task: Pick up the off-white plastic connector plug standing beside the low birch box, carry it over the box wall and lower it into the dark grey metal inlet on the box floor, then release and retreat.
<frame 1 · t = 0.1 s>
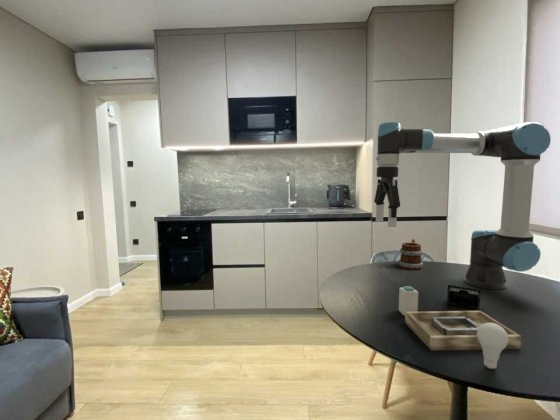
hand: (385, 224, 117), 28 cm above the table, fingers open, 13 cm apart
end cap: (462, 306, 111), on the table
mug: (410, 266, 161), on the table
connector plug: (407, 312, 105), on the table
grey inlet: (455, 332, 91), resting on birch box
birch box: (457, 334, 90), on the table
lightbulb: (489, 369, 75), on the table
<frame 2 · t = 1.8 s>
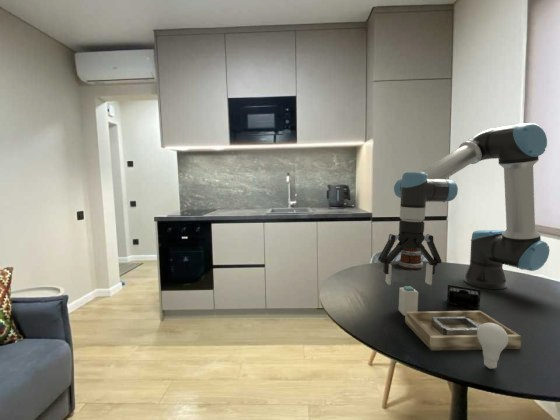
hand: (408, 283, 104), 10 cm above the table, fingers open, 13 cm apart
nothing on the table moved.
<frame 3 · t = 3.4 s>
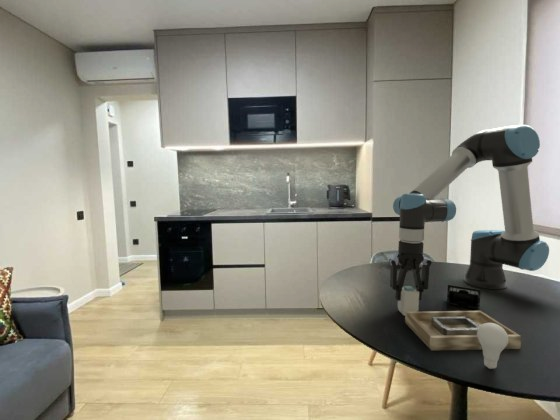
hand: (407, 309, 105), 1 cm above the table, fingers closed on connector plug, 4 cm apart
connector plug: (407, 312, 105), on the table, touching gripper
everything else where it was.
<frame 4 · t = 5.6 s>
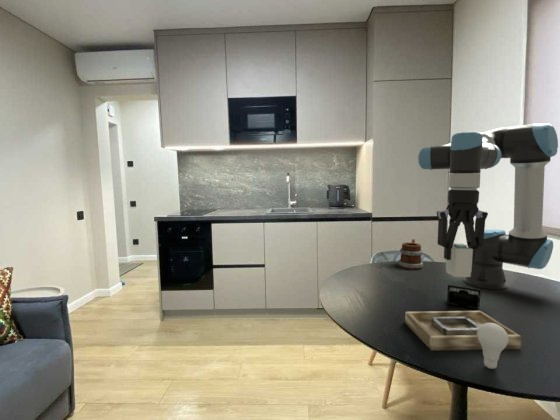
hand: (458, 270, 90), 19 cm above the table, fingers closed on connector plug, 4 cm apart
connector plug: (458, 274, 90), point 17 cm above the table, touching gripper
everything else where it was.
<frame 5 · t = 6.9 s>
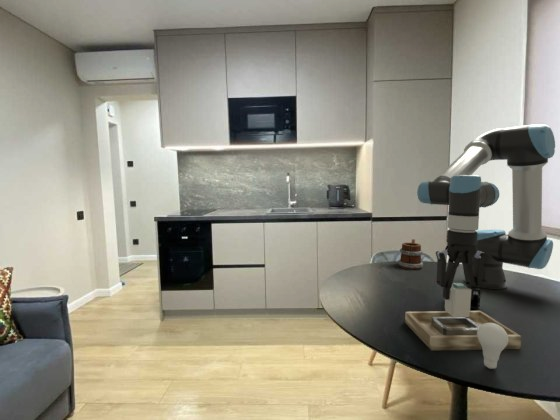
hand: (457, 309, 91), 7 cm above the table, fingers closed on connector plug, 4 cm apart
connector plug: (456, 313, 91), point 6 cm above the table, touching gripper
everything else where it was.
when the fingers open (4 cm above the table, at t = 7.8 s): connector plug drops 1 cm, resting on birch box.
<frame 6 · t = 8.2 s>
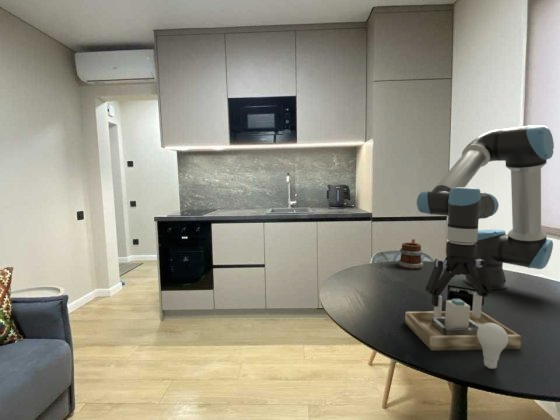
hand: (456, 316, 91), 5 cm above the table, fingers open, 11 cm apart
connector plug: (456, 329, 91), point 1 cm above the table, touching birch box
everything else where it was.
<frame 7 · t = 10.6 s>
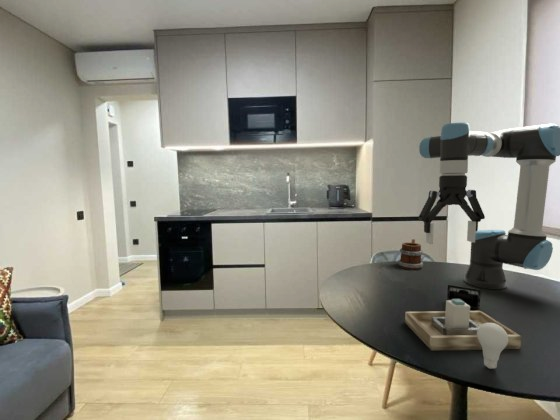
hand: (450, 242, 99), 25 cm above the table, fingers open, 13 cm apart
nothing on the table moved.
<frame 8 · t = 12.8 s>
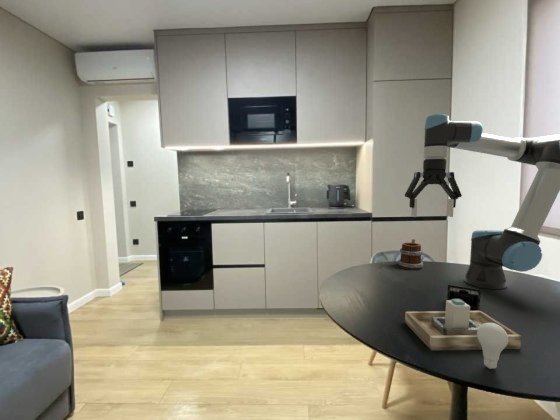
hand: (431, 216, 116), 31 cm above the table, fingers open, 13 cm apart
nothing on the table moved.
at the end: connector plug 0.1 cm off-centre on the grey inlet, point 1.0 cm above the grey inlet's base; the gripper is holding nothing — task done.
